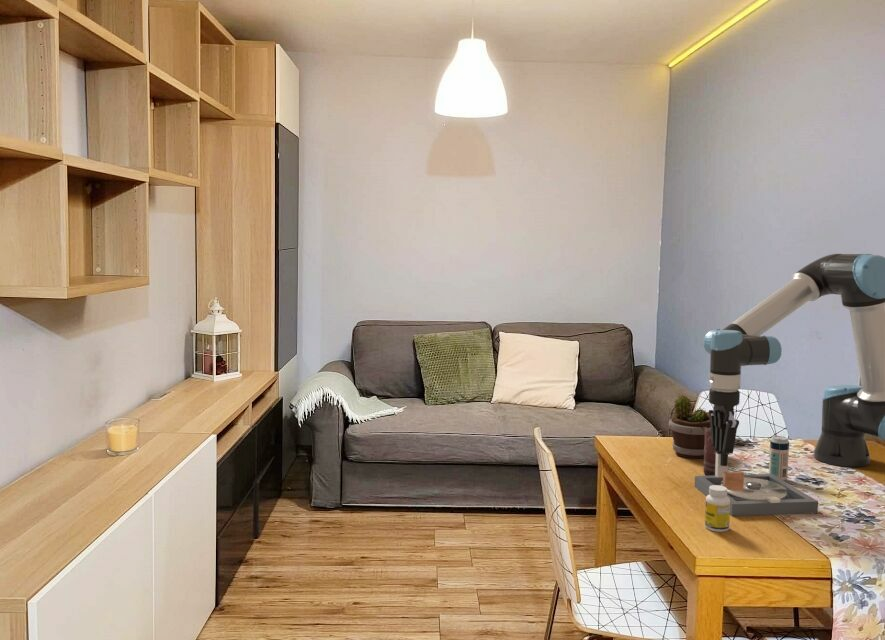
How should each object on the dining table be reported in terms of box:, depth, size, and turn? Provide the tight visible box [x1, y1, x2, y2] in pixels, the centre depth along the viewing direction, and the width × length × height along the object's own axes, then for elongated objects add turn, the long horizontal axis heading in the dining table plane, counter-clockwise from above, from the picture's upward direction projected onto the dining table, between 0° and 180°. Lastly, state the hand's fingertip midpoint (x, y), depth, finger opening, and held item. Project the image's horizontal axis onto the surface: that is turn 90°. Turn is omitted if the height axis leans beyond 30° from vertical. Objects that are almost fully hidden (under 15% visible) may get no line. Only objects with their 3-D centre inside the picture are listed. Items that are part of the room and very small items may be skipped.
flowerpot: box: [668, 392, 711, 459], centre depth 234 cm, size 14×15×20 cm
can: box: [703, 426, 716, 476], centre depth 214 cm, size 6×6×14 cm
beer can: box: [768, 435, 790, 482], centre depth 210 cm, size 5×5×12 cm
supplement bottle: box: [704, 485, 731, 533], centre depth 175 cm, size 5×5×10 cm
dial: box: [721, 471, 787, 501], centre depth 194 cm, size 16×16×6 cm
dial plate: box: [694, 473, 819, 517], centre depth 194 cm, size 22×22×4 cm
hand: (721, 476), depth 198 cm, fingers closed
